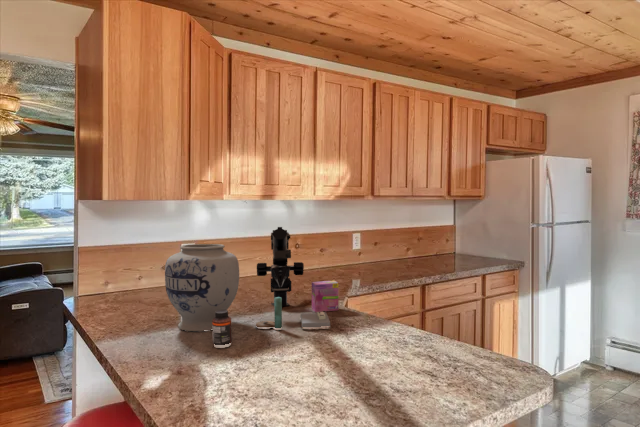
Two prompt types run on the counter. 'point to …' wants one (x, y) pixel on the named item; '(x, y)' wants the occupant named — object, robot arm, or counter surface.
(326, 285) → the box
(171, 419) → the counter surface
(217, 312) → the supplement bottle
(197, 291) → the apothecary jar
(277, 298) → the crank handle
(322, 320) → the stand
